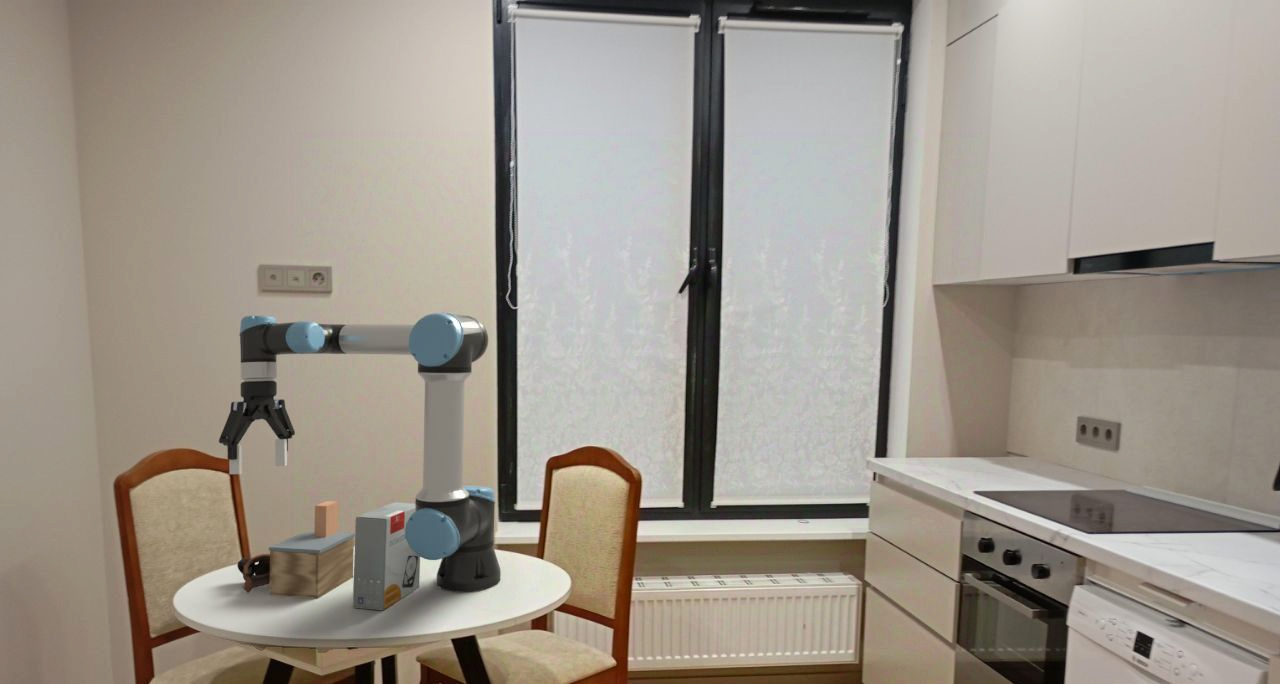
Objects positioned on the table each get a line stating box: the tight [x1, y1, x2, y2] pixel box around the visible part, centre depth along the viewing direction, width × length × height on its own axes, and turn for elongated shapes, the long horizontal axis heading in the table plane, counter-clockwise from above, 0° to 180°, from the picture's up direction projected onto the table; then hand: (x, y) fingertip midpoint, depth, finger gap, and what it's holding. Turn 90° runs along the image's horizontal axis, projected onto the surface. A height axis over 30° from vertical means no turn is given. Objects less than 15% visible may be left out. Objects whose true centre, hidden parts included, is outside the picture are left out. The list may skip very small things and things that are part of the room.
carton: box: [268, 537, 355, 599], centre depth 157 cm, size 12×14×10 cm
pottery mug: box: [236, 553, 270, 593], centre depth 157 cm, size 12×10×8 cm
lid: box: [268, 500, 355, 554], centre depth 157 cm, size 13×14×8 cm
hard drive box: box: [352, 501, 421, 611], centre depth 151 cm, size 16×8×20 cm, turn 168°
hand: (259, 469), depth 157 cm, fingers open, 13 cm apart
